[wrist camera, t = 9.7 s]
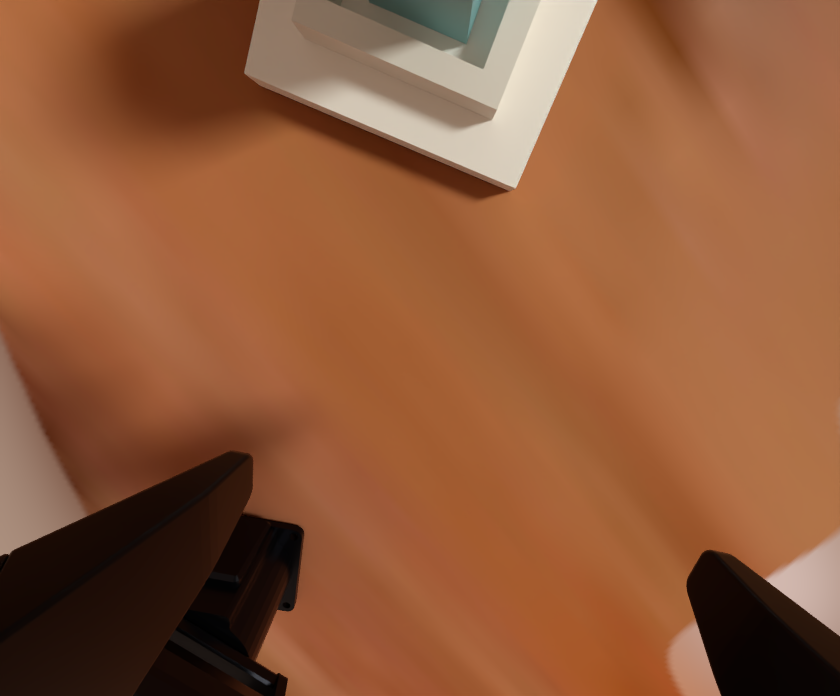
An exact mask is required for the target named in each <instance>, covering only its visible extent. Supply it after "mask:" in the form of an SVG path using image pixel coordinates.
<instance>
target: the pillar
mask: <svg viewBox="0 0 840 696" xmlns="http://www.w3.org/2000/svg"><path fill="white" fill-rule="evenodd" d="M481 1H482V0H369V3H372V4H374V5H376V6H379V7H381V8H383V9H386V10H388V11H390V12H393V13H395V14H397V15H400V16H402V17H404V18H406V19H409V20H411V21H413V22H416V23H418V24H420V25H423V26H425V27H427V28H430V29H432V30H434V31H437V32H439V33H441V34H443V35H446V36H448V37H450V38H453V39H455V40H457V41H460V42H462V43H464V44H467V41H468V38H469V36H470V33H471V30H472V27H473V24H474V21H475V19H476V16H477V13H478V10H479V7H480V4H481Z"/></svg>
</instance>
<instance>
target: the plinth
mask: <svg viewBox="0 0 840 696" xmlns="http://www.w3.org/2000/svg"><path fill="white" fill-rule="evenodd" d="M596 2H597V0H482V1H481V4H480V7H479V10H478V13H477V16H476V19H475V21H474V24H473V27H472V30H471V33H470V36H469V38H468V41H467V44H464V43H462V42H460V41H457V40H455V39H453V38H450V37H448V36H446V35H443V34H441V33H439V32H437V31H434V30H432V29H430V28H427V27H425V26H423V25H420V24H418V23H416V22H413V21H411V20H409V19H406V18H404V17H402V16H400V15H397V14H395V13H393V12H390V11H388V10H386V9H383V8H381V7H379V6H376V5H374V4H372V3H369V0H260V2H259V7H258V12H257V16H256V21H255V25H254V30H253V34H252V39H251V44H250V48H249V53H248V57H247V62H246V67H245V71H244V74H246V75H247V76H248V77H249V78H251V79H252V80H253V81H255V82H256V83H257V84H259V85H260V86H262V87H264V88H267V89H269V90H272V91H274V92H276V93H279V94H281V95H283V96H286V97H288V98H290V99H293V100H295V101H298V102H300V103H302V104H305V105H307V106H309V107H312V108H314V109H316V110H319V111H321V112H324V113H326V114H328V115H331V116H333V117H335V118H338V119H340V120H342V121H345V122H347V123H350V124H352V125H354V126H357V127H359V128H361V129H364V130H366V131H368V132H371V133H373V134H376V135H378V136H380V137H383V138H385V139H387V140H390V141H392V142H394V143H397V144H399V145H402V146H404V147H406V148H409V149H411V150H413V151H416V152H418V153H420V154H423V155H425V156H428V157H430V158H432V159H435V160H437V161H439V162H442V163H444V164H446V165H449V166H451V167H454V168H456V169H458V170H461V171H463V172H465V173H468V174H470V175H472V176H475V177H477V178H479V179H482V180H484V181H487V182H489V183H491V184H494V185H496V186H498V187H501V188H503V189H505V190H508V191H511V190H514V189H516V187H517V184H518V182H519V180H520V177H521V175H522V173H523V171H524V168H525V166H526V164H527V161H528V159H529V157H530V154H531V152H532V150H533V147H534V145H535V143H536V141H537V138H538V136H539V134H540V131H541V129H542V127H543V124H544V122H545V120H546V117H547V115H548V113H549V111H550V108H551V106H552V104H553V101H554V99H555V97H556V94H557V92H558V90H559V88H560V85H561V83H562V81H563V78H564V76H565V74H566V71H567V69H568V67H569V64H570V62H571V60H572V58H573V55H574V53H575V51H576V48H577V46H578V44H579V41H580V39H581V37H582V35H583V32H584V30H585V28H586V25H587V23H588V21H589V18H590V16H591V14H592V11H593V9H594V7H595V5H596Z"/></svg>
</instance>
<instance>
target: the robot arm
mask: <svg viewBox="0 0 840 696" xmlns="http://www.w3.org/2000/svg"><path fill="white" fill-rule="evenodd" d="M252 487H253V458H252V456H251V455H250V454H248V453H243V452H238V451H229V452H227V453H224V454H222V455H220V456H218V457H216V458H213V459H211V460H209V461H207V462H205V463H203V464H200V465H198V466H196V467H194V468H192V469H189V470H187V471H185V472H183V473H181V474H179V475H176V476H174V477H172V478H170V479H168V480H165V481H163V482H161V483H159V484H157V485H155V486H152V487H150V488H148V489H146V490H144V491H141V492H139V493H137V494H135V495H133V496H131V497H128V498H126V499H124V500H122V501H120V502H117V503H115V504H113V505H111V506H109V507H107V508H104V509H102V510H100V511H98V512H96V513H93V514H91V515H89V516H87V517H85V518H83V519H80V520H78V521H76V522H74V523H72V524H69V525H67V526H65V527H63V528H61V529H59V530H56V531H54V532H52V533H50V534H48V535H45V536H43V537H41V538H39V539H37V540H35V541H33V542H30V543H28V544H26V545H24V546H21V547H19V548H17V549H15V550H13V551H12V552H11V553H10V555H8V554H4V555H2V556H0V696H285V692H286V687H287V681H288V678H286V677H285V676H283V675H281V674H280V673H278V674H275V673H274V672H272V671H270V670H269V669H267V668H265V667H264V666H262V665H261V664H259V663H257V662H256V659H257V656H258V654H259V651H260V649H261V647H262V644H263V642H264V640H265V637H266V635H267V633H268V630H269V628H270V625H271V623H272V621H273V618H274V616H275V614H276V611H277V610H282V611H291V610H293V608H294V606H295V603H296V599H297V591H298V582H299V574H300V565H301V557H302V548H303V540H304V531H303V529H302V528H301V527H299V526H296V525H290V524H285V523H279V522H274V521H269V520H263V519H258V518H252V517H247V516H242V515H241V514H242V512H243V510H244V508H245V506H246V504H247V502H248V500H249V498H250V496H251V492H252ZM293 534H296V535H297V536H295V535H293ZM686 587H687V593H688V596H689V600H690V603H691V606H692V609H693V612H694V615H695V618H696V622H697V625H698V628H699V631H700V634H701V637H702V640H703V644H704V647H705V650H706V653H707V656H708V659H709V662H710V666H711V669H712V672H713V675H714V678H715V680H716V683H717V686H718V688H719V691H720V694H721V696H840V636H839V635H837V634H836V633H835V632H833V631H832V630H831V629H829V628H828V627H827V626H825V625H824V624H822V623H821V622H820V621H819V620H817V619H816V618H815V617H813V616H812V615H810V613H808V612H807V611H806V610H804V609H803V608H801V607H800V606H799V605H798V604H796V603H795V602H794V601H792V600H791V599H790V598H788V597H787V596H786V595H784V594H783V593H782V592H780V591H779V590H778V589H776V588H775V587H774V586H772V585H771V584H770V583H769V582H767V581H766V580H765V579H763V578H762V577H761V576H759V575H758V574H757V573H755V572H754V571H753V570H751V569H750V568H749V567H747V566H746V565H745V564H743V563H742V562H741V561H739V560H738V559H737V558H735V557H734V556H732V555H730V554H728V553H724V552H719V551H714V550H706V551H704V552H703V553H702V554H701V556H700V558H699V559H698V561H697V563H696V564H695V566H694V568H693V570H692V571H691V573H690V575H689V576H688V579H687V586H686Z"/></svg>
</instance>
